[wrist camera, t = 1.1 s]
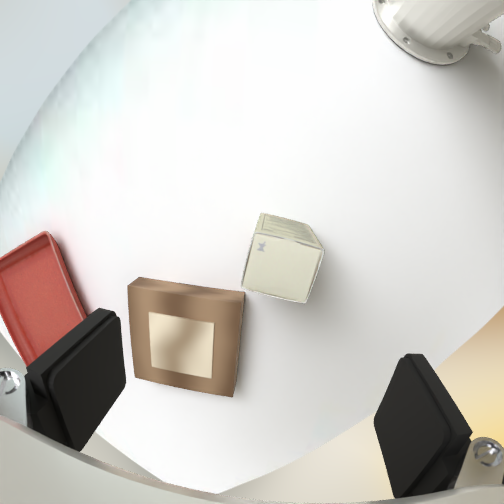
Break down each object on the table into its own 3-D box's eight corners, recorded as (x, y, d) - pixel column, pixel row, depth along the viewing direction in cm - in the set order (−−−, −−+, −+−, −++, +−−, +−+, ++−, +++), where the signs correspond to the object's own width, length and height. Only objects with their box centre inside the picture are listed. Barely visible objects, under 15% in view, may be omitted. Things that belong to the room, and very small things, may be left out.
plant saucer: (-5, 263, 36) (-19, 269, 33) (62, 224, 33) (46, 228, 30) (41, 364, 39) (30, 374, 36) (117, 352, 37) (106, 365, 33)
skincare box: (249, 253, 31) (235, 287, 22) (260, 211, 30) (251, 227, 21) (299, 266, 31) (306, 306, 22) (311, 225, 30) (326, 248, 20)
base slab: (244, 292, 32) (241, 304, 29) (236, 382, 35) (232, 398, 32) (139, 276, 33) (126, 286, 30) (143, 364, 36) (134, 378, 33)
